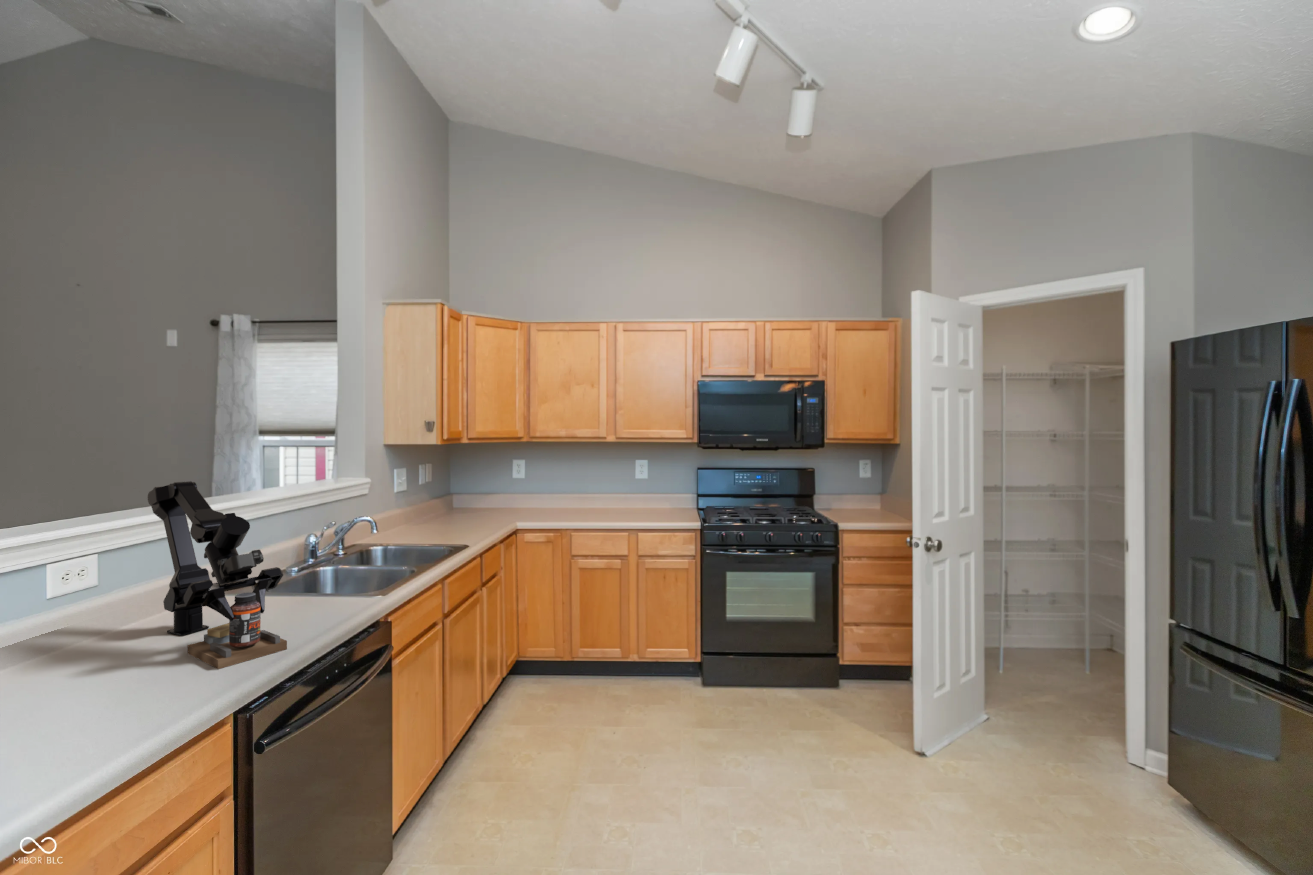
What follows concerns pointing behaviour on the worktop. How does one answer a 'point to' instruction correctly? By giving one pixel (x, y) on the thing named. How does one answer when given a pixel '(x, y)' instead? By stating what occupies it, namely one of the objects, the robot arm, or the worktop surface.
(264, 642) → the shelf board
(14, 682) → the worktop surface
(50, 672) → the worktop surface
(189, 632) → the robot arm
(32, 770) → the worktop surface
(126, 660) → the worktop surface
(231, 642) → the supplement bottle
